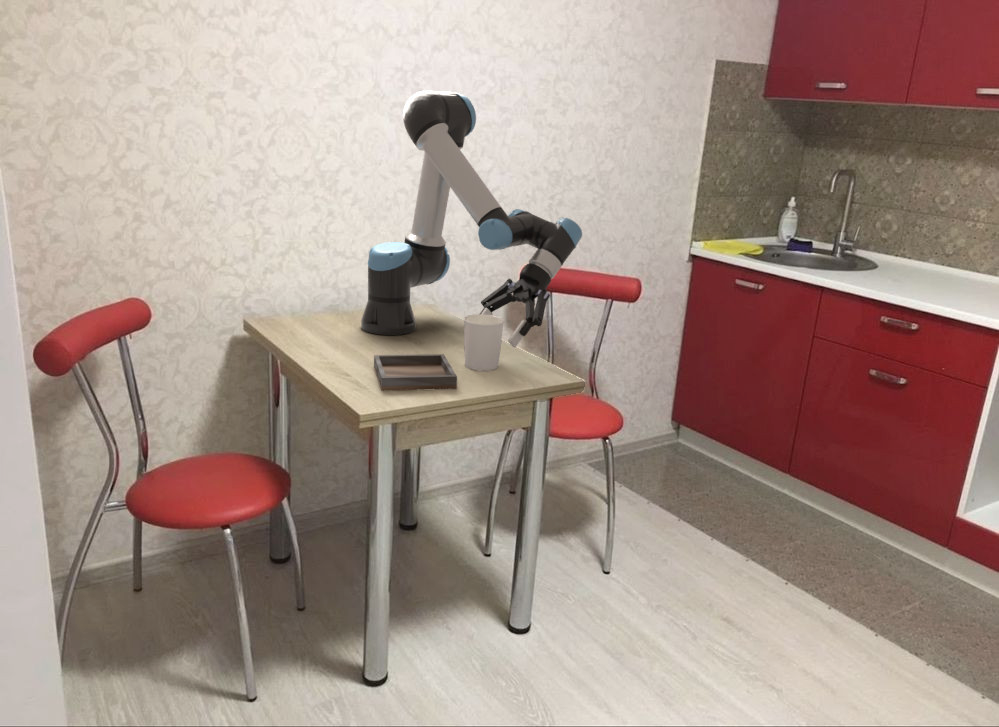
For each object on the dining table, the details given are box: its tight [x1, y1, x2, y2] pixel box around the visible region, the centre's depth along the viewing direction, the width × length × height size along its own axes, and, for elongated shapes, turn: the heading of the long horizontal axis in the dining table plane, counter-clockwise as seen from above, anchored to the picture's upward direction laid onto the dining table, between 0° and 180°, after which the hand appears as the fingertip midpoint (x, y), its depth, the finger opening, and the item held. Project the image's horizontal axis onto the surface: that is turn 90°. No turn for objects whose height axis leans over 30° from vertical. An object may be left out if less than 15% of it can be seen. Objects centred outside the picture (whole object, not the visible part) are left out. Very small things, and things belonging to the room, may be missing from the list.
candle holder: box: [463, 313, 505, 372], centre depth 211 cm, size 10×10×12 cm
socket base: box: [373, 353, 458, 392], centre depth 200 cm, size 17×17×3 cm
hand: (492, 337), depth 211 cm, fingers open, 13 cm apart
